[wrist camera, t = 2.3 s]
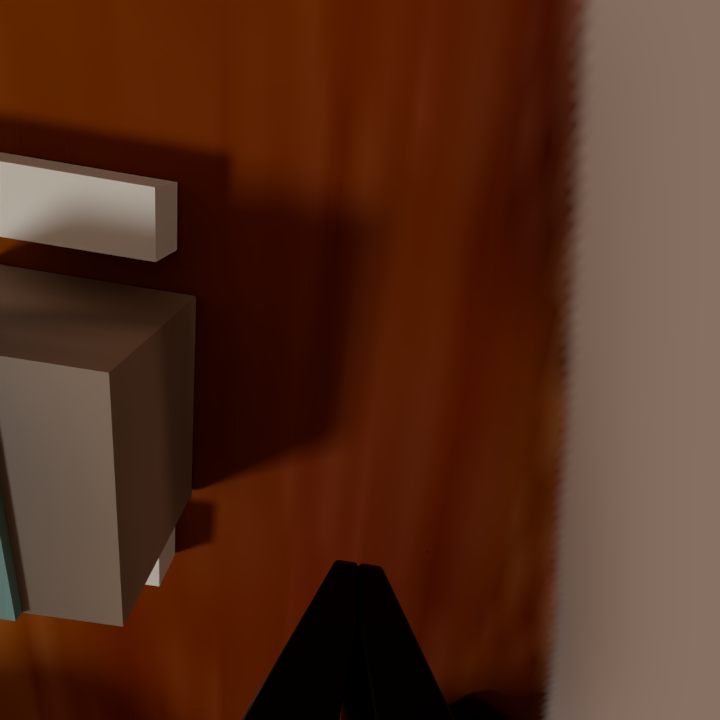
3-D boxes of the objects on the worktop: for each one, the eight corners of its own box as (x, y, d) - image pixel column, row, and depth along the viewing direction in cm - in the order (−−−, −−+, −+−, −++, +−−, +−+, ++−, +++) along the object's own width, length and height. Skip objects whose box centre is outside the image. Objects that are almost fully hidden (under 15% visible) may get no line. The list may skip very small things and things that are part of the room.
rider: (196, 296, 12) (103, 378, 8) (191, 495, 14) (118, 635, 10) (-18, 261, 12) (-225, 327, 8) (15, 469, 14) (-130, 601, 10)
